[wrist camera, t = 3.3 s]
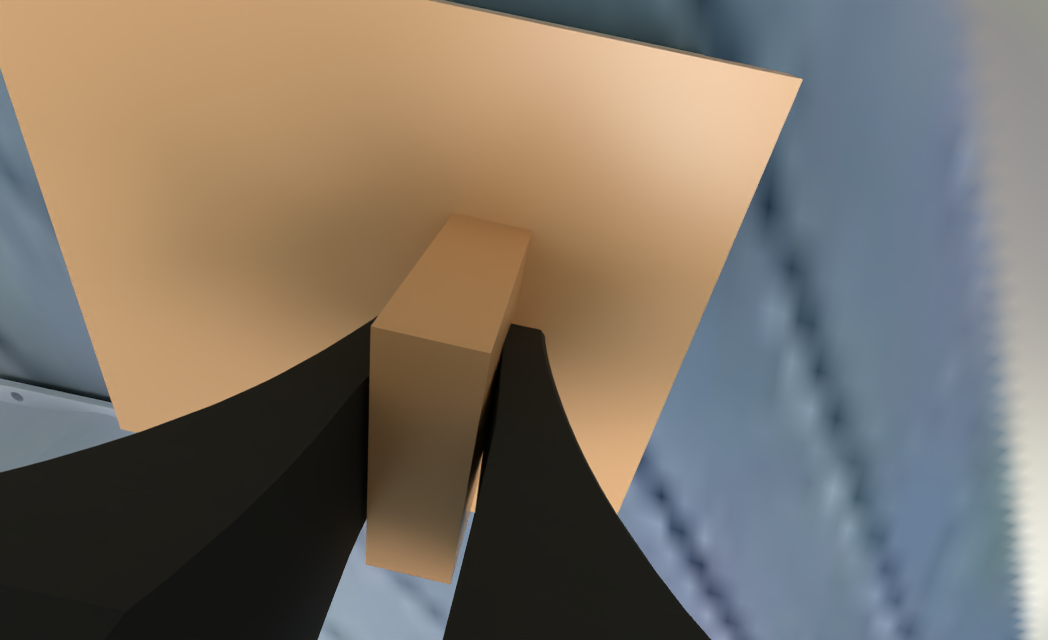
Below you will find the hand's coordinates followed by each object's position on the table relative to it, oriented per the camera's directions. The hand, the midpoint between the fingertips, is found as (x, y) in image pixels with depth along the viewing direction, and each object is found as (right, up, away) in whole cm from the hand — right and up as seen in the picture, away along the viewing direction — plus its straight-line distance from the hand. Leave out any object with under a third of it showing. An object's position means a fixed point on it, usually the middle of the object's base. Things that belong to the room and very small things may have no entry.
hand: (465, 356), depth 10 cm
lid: (-2, +1, +2) cm, 3 cm away
